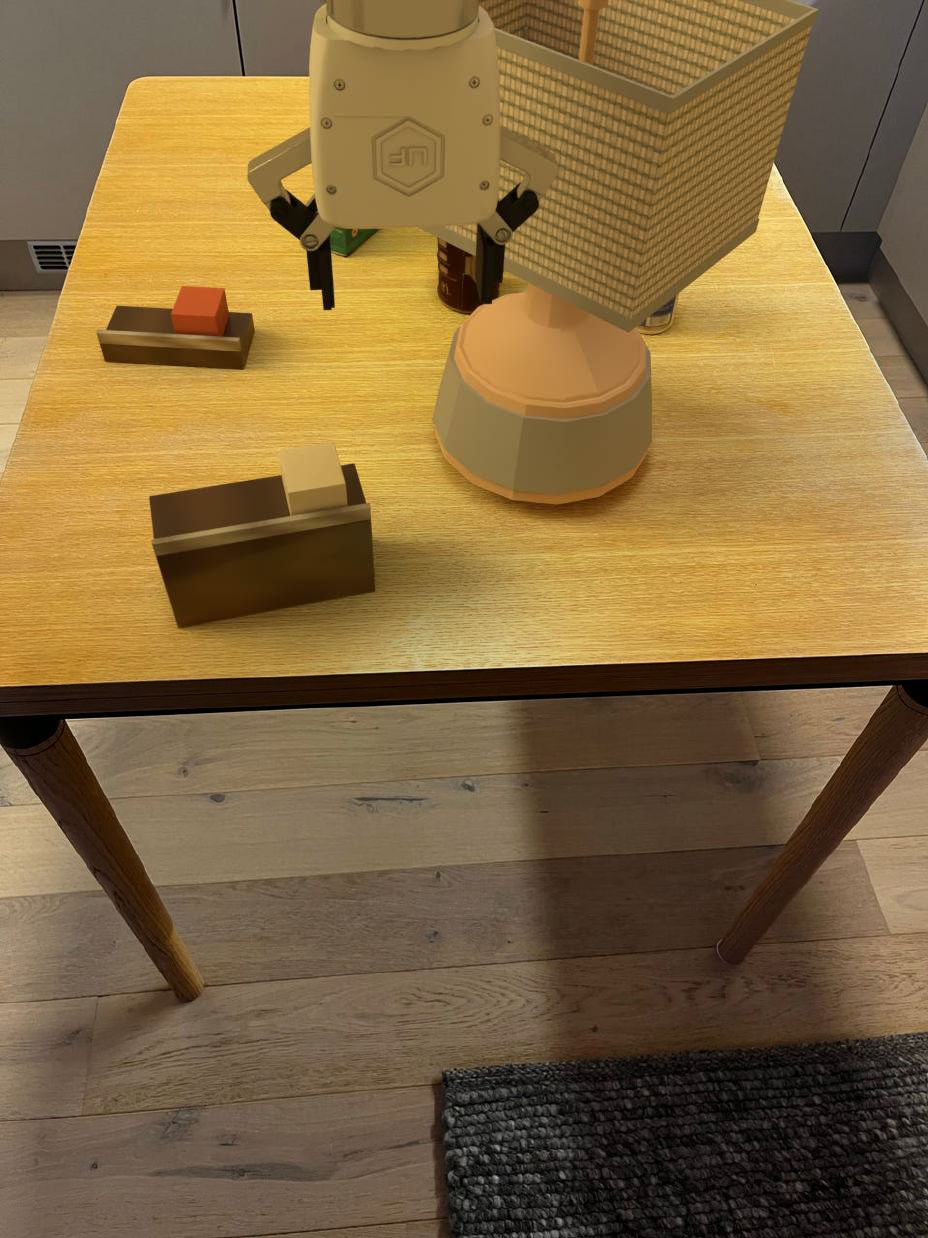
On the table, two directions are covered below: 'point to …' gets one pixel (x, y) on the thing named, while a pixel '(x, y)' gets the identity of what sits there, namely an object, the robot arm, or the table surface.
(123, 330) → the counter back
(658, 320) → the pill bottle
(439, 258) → the coffee cup
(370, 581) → the counter front
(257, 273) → the table surface
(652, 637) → the table surface
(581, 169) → the desk lamp
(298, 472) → the tan block
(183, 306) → the red cube block
